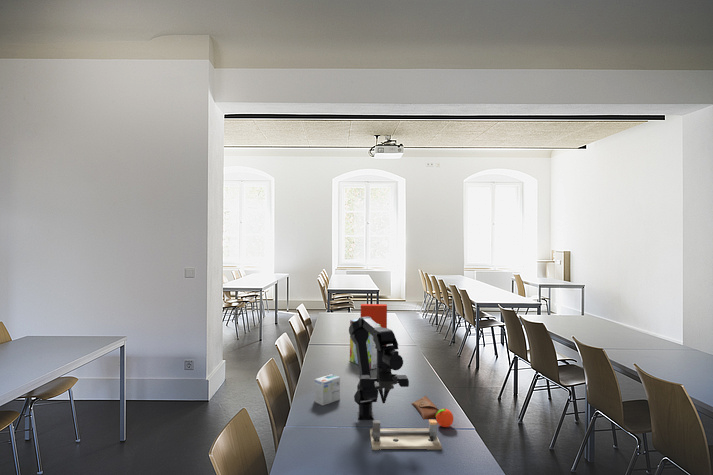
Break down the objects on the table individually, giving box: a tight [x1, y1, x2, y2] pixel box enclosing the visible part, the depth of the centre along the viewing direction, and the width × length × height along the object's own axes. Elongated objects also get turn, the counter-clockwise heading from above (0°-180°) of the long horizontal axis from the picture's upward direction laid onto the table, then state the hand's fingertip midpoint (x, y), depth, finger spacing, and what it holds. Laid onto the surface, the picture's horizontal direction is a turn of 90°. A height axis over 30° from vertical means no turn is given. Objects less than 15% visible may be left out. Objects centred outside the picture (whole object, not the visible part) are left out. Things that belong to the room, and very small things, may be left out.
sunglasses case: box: [411, 395, 440, 420], centre depth 181 cm, size 18×7×7 cm
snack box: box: [349, 318, 381, 370], centre depth 248 cm, size 22×9×26 cm, turn 34°
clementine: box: [435, 408, 454, 428], centre depth 165 cm, size 8×7×7 cm
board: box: [369, 419, 443, 451], centre depth 154 cm, size 14×25×7 cm, turn 92°
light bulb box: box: [314, 373, 341, 406], centre depth 191 cm, size 11×7×11 cm, turn 135°
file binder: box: [360, 303, 388, 346], centre depth 273 cm, size 8×17×32 cm, turn 88°
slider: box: [428, 419, 438, 440], centre depth 153 cm, size 4×3×6 cm, turn 1°
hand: (383, 402), depth 159 cm, fingers closed
